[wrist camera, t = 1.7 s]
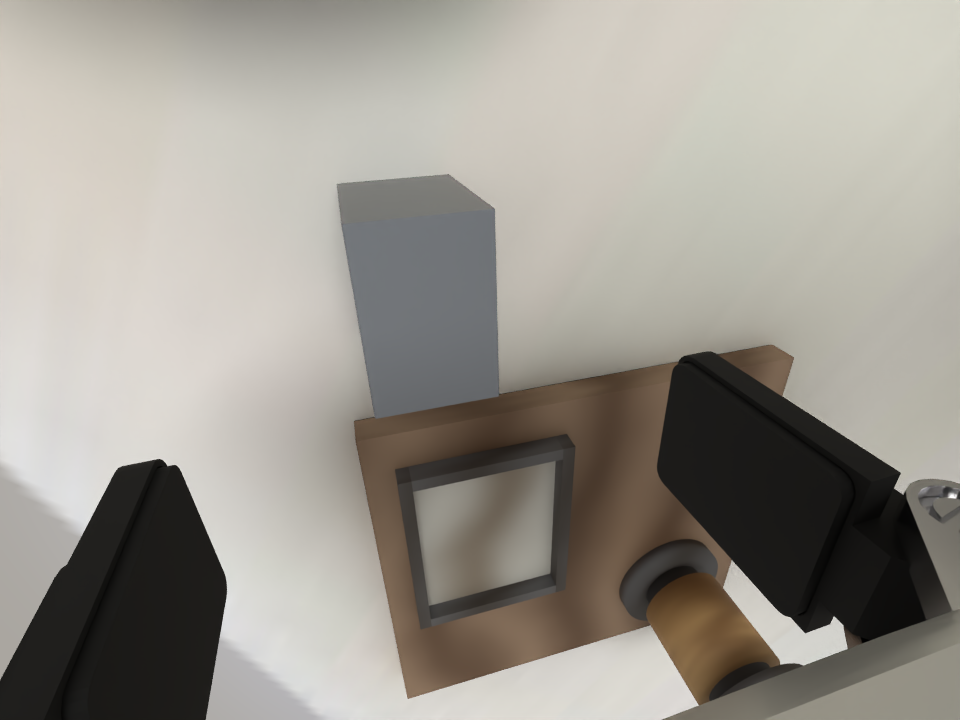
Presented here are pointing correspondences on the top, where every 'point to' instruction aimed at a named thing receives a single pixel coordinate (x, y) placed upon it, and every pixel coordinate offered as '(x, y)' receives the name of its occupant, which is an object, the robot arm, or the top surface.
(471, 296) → the gray rectangular block
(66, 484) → the top surface
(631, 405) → the winding board
